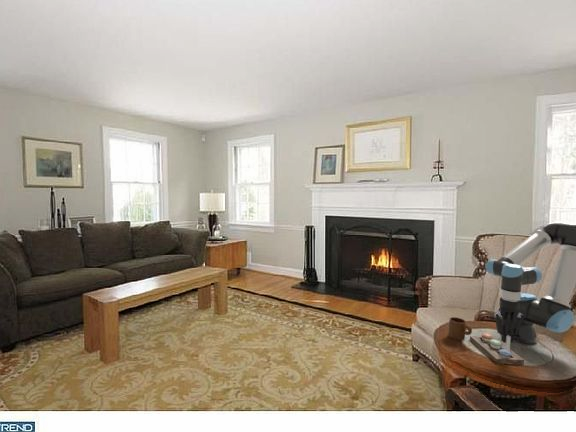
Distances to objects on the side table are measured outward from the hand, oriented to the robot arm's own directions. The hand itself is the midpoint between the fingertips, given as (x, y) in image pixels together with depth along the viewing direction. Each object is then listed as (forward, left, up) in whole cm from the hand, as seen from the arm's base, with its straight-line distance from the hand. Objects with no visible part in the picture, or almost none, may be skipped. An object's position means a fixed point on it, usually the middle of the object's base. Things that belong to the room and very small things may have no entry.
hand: (506, 348), depth 147 cm
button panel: (0, -7, -5) cm, 8 cm away
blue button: (0, 0, -4) cm, 4 cm away
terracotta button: (0, -14, -3) cm, 14 cm away
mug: (+11, -18, -5) cm, 22 cm away
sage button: (0, -7, -3) cm, 7 cm away
